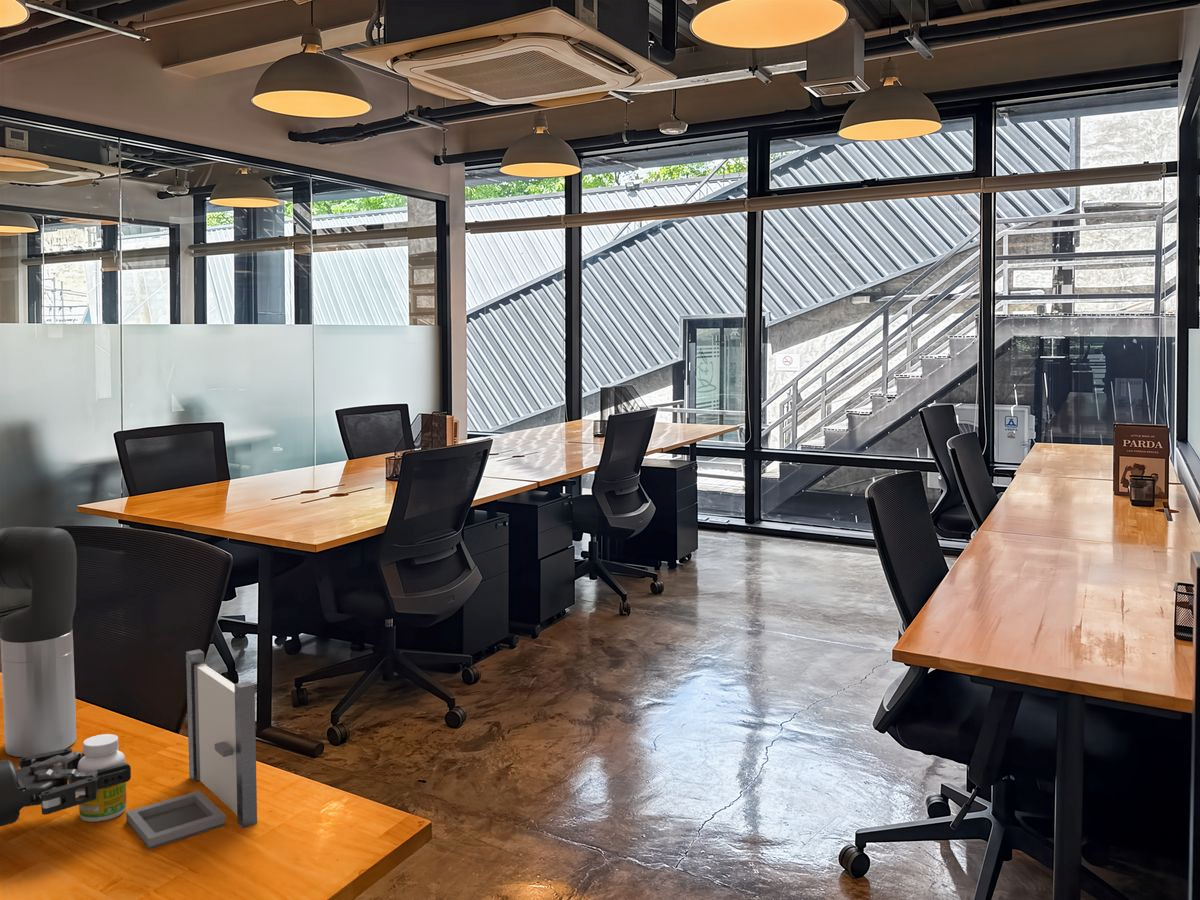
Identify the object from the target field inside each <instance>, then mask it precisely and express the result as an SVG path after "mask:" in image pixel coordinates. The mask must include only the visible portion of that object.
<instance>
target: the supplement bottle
mask: <svg viewBox="0 0 1200 900" xmlns="http://www.w3.org/2000/svg"><path fill="white" fill-rule="evenodd" d="M119 746H120V745H119V736H118V735H116V734H111V733H104V734H103V733H102V734H97V735H93V736H91V737H88V738H86V739H85V740H84V741H83V742H82V753H83V754H84V755H85V756H84V757H82V758H81V759H80V761H79V763H78V772H90V771H97V770H100V769H104V768H108V767H112V766H116V765H120V764H124V763H126V756H125V754H124V752H122V751H120V750H119ZM78 781H81V780H78ZM79 796H83V795H78V797H79ZM126 809H127V782H124V783H120V784H117V785H113V786H109V787H105V788H102V789H98V792H97V798H96V799H95V800H92V801H89V802H86V803H83V804H79V805H78V813H79V818H80V819H81V820H82V821H85V822H92V823H94V822H104V821H108V820H112V819H114V818H116V817H118V816H121V814H123V813H124V812H126Z"/></svg>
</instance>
